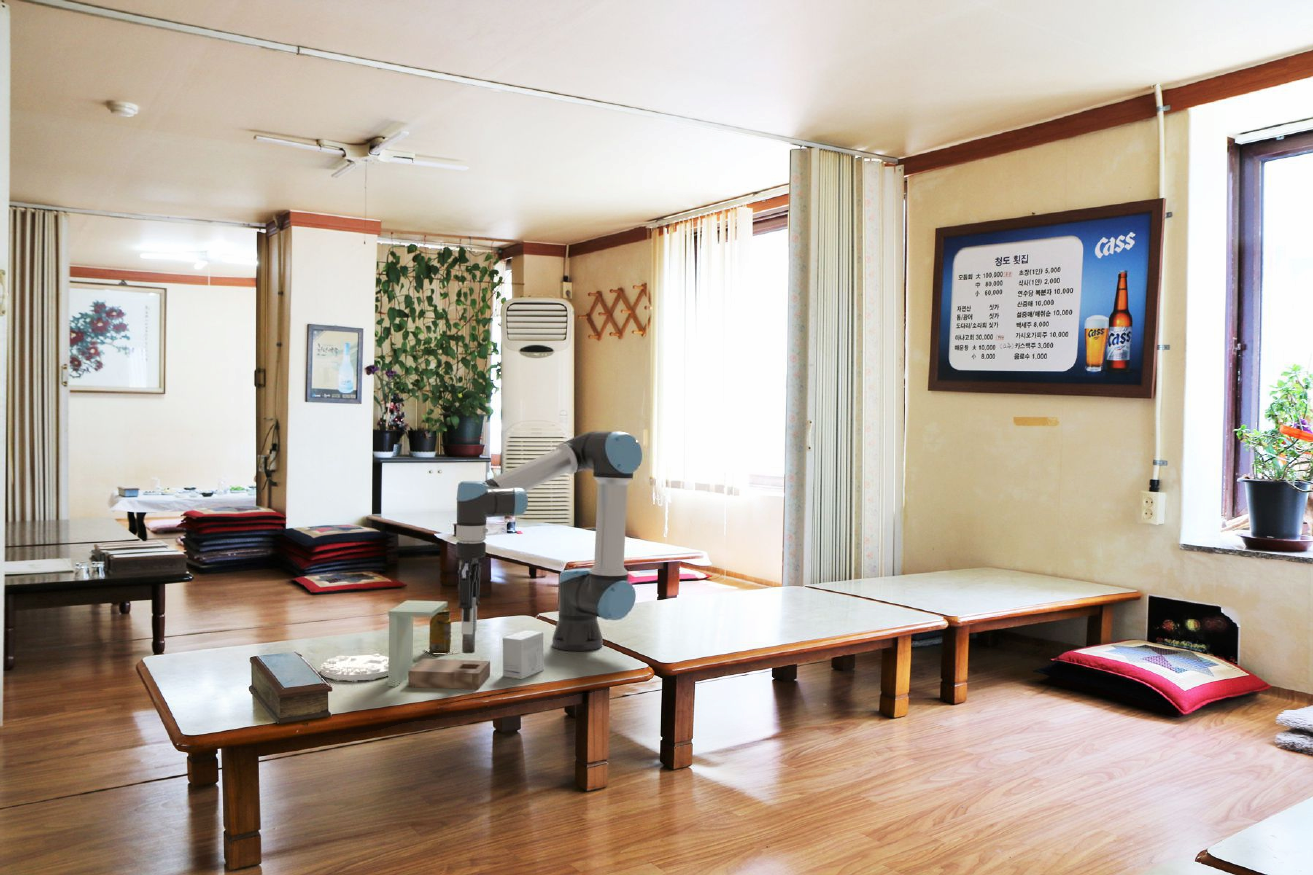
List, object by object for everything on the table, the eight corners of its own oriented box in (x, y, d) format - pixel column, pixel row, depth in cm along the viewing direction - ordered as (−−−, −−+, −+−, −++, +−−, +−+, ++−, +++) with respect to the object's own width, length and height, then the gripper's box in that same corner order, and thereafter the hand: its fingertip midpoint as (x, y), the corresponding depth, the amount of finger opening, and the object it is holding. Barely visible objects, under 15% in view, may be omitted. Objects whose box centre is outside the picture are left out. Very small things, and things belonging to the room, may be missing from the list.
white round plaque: (414, 670, 254) (414, 659, 253) (357, 687, 237) (357, 676, 236) (362, 659, 264) (362, 649, 264) (304, 675, 247) (304, 663, 247)
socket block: (489, 675, 248) (490, 660, 248) (478, 689, 236) (478, 673, 236) (423, 673, 249) (423, 658, 249) (408, 686, 237) (408, 670, 237)
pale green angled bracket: (446, 673, 250) (447, 601, 249) (430, 688, 236) (431, 612, 235) (405, 671, 250) (406, 600, 250) (387, 686, 236) (388, 611, 236)
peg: (464, 650, 244) (465, 596, 243) (476, 650, 243) (477, 596, 243) (460, 653, 240) (461, 598, 240) (473, 653, 240) (474, 599, 240)
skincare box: (524, 667, 258) (525, 629, 257) (544, 670, 255) (544, 631, 254) (501, 676, 248) (501, 636, 248) (521, 679, 245) (521, 639, 245)
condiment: (445, 647, 278) (446, 606, 277) (459, 653, 271) (459, 611, 271) (422, 650, 273) (423, 609, 273) (435, 656, 267) (436, 614, 266)
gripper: (477, 545, 233) (475, 639, 233) (492, 537, 249) (490, 625, 250) (447, 544, 234) (445, 638, 234) (465, 536, 250) (463, 624, 250)
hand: (469, 631), depth 242 cm, fingers closed on peg, 3 cm apart
